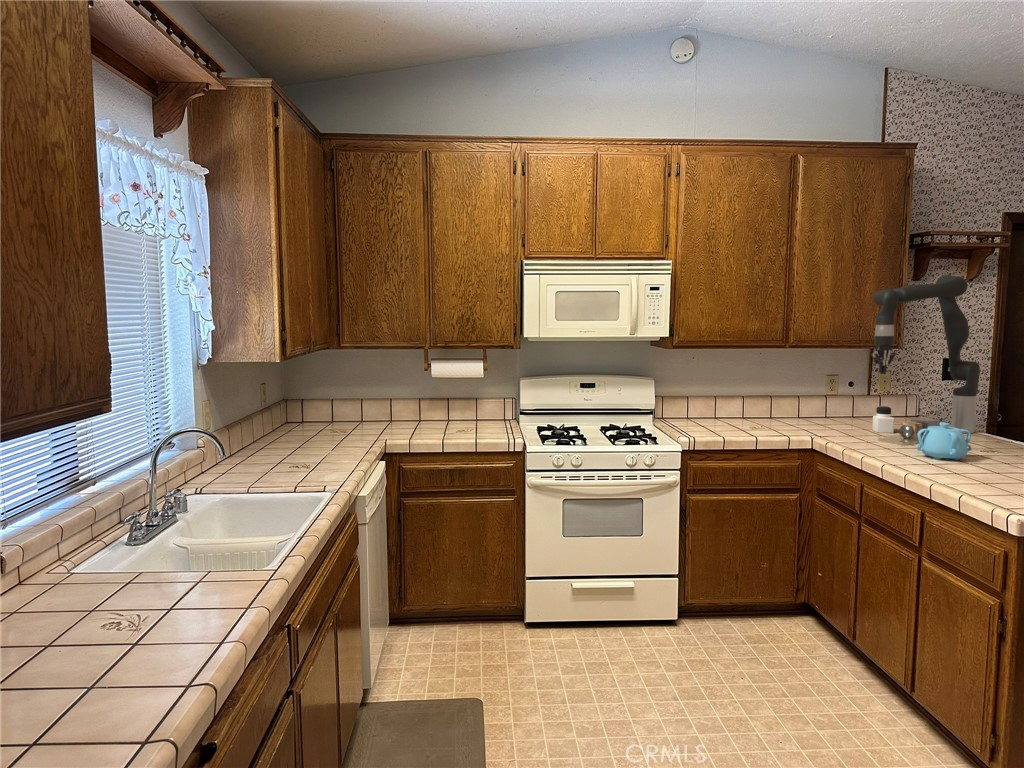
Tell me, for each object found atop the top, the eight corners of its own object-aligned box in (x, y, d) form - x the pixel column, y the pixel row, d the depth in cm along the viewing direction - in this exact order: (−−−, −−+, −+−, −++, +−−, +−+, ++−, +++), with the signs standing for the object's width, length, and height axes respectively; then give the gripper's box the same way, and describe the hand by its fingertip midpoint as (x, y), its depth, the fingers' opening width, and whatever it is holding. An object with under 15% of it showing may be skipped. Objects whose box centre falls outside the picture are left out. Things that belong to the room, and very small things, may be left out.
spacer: (908, 436, 297) (909, 421, 296) (921, 438, 292) (921, 423, 291) (902, 436, 296) (903, 422, 295) (914, 439, 290) (915, 424, 290)
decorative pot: (977, 459, 256) (979, 424, 255) (953, 463, 249) (955, 427, 247) (933, 451, 270) (935, 418, 269) (909, 456, 263) (911, 421, 262)
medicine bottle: (893, 433, 312) (894, 407, 311) (877, 432, 313) (878, 407, 312) (888, 430, 319) (889, 405, 318) (872, 430, 320) (873, 405, 319)
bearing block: (919, 436, 304) (920, 416, 303) (945, 440, 293) (946, 420, 292) (878, 440, 294) (879, 420, 294) (902, 445, 283) (903, 425, 282)
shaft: (928, 433, 301) (928, 421, 301) (940, 435, 296) (940, 423, 295) (899, 436, 295) (899, 424, 294) (910, 439, 289) (911, 426, 289)
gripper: (880, 335, 291) (879, 375, 293) (902, 334, 296) (900, 373, 298) (866, 335, 298) (864, 373, 300) (887, 334, 303) (885, 372, 304)
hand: (882, 373), depth 299 cm, fingers closed
